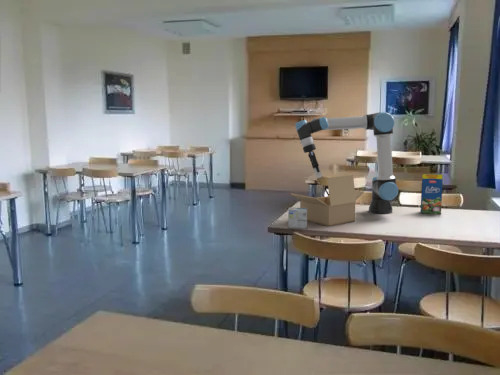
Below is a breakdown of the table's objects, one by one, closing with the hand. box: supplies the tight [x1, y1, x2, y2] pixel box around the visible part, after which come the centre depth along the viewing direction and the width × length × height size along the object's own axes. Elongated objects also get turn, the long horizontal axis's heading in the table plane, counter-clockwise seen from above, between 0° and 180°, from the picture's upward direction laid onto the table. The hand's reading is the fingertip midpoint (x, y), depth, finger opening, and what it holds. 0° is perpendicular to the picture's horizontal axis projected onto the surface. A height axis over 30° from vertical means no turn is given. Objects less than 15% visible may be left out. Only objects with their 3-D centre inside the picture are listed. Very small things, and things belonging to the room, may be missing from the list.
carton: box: [290, 189, 365, 228], centre depth 295 cm, size 25×40×17 cm, turn 127°
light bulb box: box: [287, 207, 308, 229], centre depth 279 cm, size 11×7×11 cm, turn 84°
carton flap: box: [326, 174, 357, 206], centre depth 284 cm, size 16×21×1 cm
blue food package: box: [420, 173, 443, 215], centre depth 316 cm, size 6×12×25 cm, turn 75°
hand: (319, 177), depth 302 cm, fingers open, 13 cm apart
